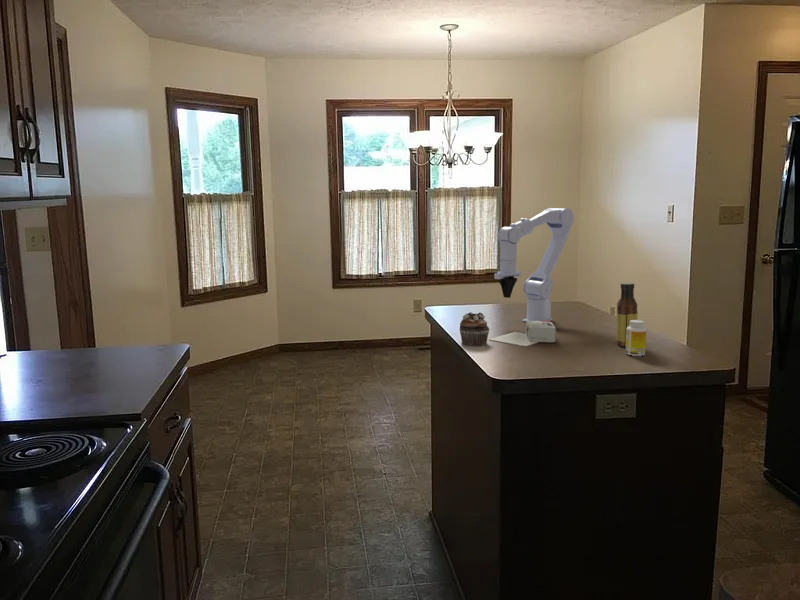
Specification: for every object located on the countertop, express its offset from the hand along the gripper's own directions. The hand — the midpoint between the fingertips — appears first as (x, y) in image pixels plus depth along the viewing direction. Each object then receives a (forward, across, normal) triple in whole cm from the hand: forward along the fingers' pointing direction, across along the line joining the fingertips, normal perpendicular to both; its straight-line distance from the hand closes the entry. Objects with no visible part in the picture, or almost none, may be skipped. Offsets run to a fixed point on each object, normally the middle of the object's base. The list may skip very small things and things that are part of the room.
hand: (507, 297), depth 236 cm
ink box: (+8, +7, +17) cm, 20 cm away
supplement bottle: (+11, +12, +53) cm, 56 cm away
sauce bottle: (+10, +2, +46) cm, 47 cm away
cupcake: (+11, +32, +8) cm, 34 cm away
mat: (+11, +16, +16) cm, 25 cm away
